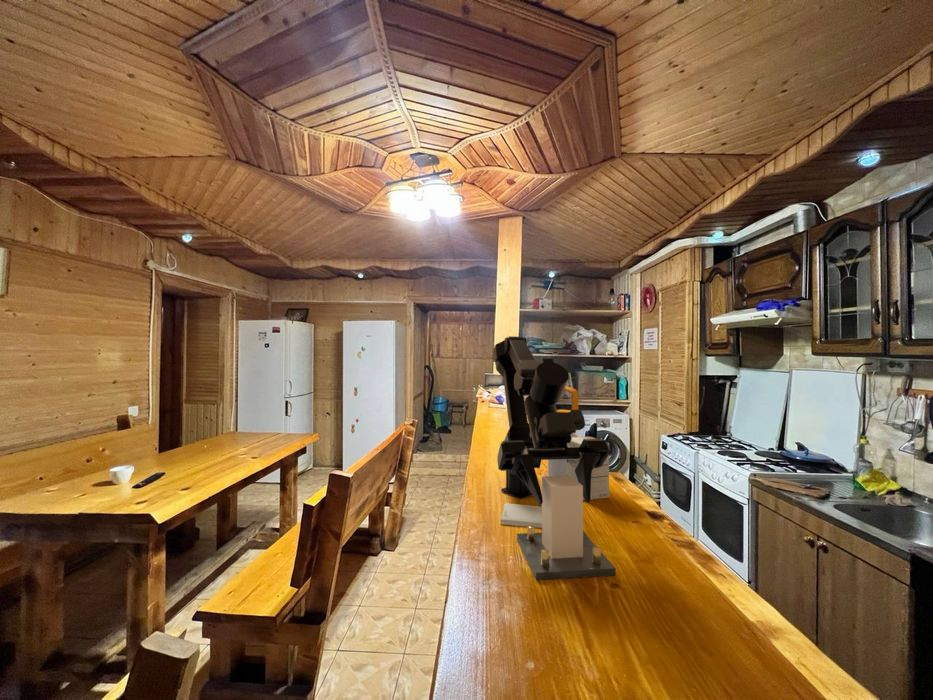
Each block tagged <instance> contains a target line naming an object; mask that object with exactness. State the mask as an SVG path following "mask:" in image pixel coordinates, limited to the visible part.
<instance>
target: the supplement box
mask: <svg viewBox="0 0 933 700" xmlns="http://www.w3.org/2000/svg"><path fill="white" fill-rule="evenodd" d="M583 439H597V438H596V437H592V436H579V437H573V438H572V440H571V442H570V443H567V447H568V448H569V447H580V445H581V443H582V441H583ZM607 443H608V445H609V446H610V443H609V442H607ZM576 467H577V462H576V460H575V459H566V476H572V477H573V478H574V479H575V480H577V481H578V479H577V476H576V473H575V469H576ZM608 498H610V454H609V455H608V457H607V458H606V460H605V462H604V463H603V465H602V466H601V467H599V468H594V469H593V470H592V473H591V496H590V501H591V500H599V499H600V500H601V499H608ZM583 501H585V499H584V497H583Z"/></svg>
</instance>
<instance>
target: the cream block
mask: <svg viewBox="0 0 933 700" xmlns="http://www.w3.org/2000/svg"><path fill="white" fill-rule="evenodd" d="M541 493H542V499H543V503H542V504H541V506H542V528H541V533H542V543H543V545H544V547H545V548H546V549H547V550H549V555H550V556H551V558H552V559H554V558H572V557H583V532H584V500H583V485H581V484H580V483H579V482H578V481H577V480H575V479H574V478H573V477H572V476H548V475H547V476H544V475H543V476H541Z"/></svg>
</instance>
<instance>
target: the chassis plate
mask: <svg viewBox="0 0 933 700" xmlns="http://www.w3.org/2000/svg"><path fill="white" fill-rule="evenodd" d="M526 531H527V533H525V532H523V533H522V532H521V533H516V541H517V543H518V545H519V547H520V549H521V552H522V554H523V555H524V557H525V560H526V562H527V565H528V566H529V568H530V571H531V572H532V575H533V577H534V578H535V580H537V581H539V580H541V581H542V580H555V579H558V580H559V579H570V578H571V579H573V578H575V579H576V578H591V577H610V576H616V575H617V573H616V572H617V569H616V567H615V565H613V564H612V562H611V561H610V560H609V559H608V558H607V556H605V554H604V553H603V552H602V551H601V549H602V548H601V547H599V546H597V545H596V544H595V543H594V542H593V541H592V540H591V538H590V537H589V536H588V534H586V532H584V531H583V557H572V558H554V559H552V558H551V556H550V555H549V550H547V549H546V548H545V547H544V545H543V543H542V532H535V527H534V526H532V525H529V526H527V529H526Z"/></svg>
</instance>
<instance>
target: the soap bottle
mask: <svg viewBox="0 0 933 700" xmlns="http://www.w3.org/2000/svg"><path fill="white" fill-rule="evenodd" d="M564 391H565V392H568V393H570V395H571V409H557V413H560V412H570V411H571V410H579V392H578V390H577V389H576V388H574V387H570V386H568V385H566V386H565V389H564ZM573 437H580V436H579V434H577V432H576V433H572V434H571V438H573ZM547 476H566V459H556V460H547Z"/></svg>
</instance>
